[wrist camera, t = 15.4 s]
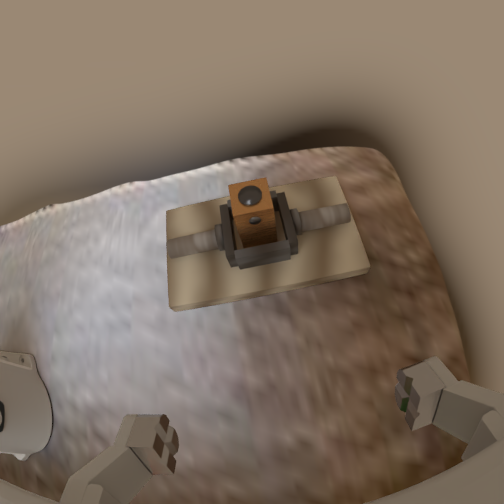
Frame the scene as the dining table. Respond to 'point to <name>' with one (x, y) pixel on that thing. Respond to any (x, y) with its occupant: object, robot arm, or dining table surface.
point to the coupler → (253, 212)
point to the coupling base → (262, 247)
